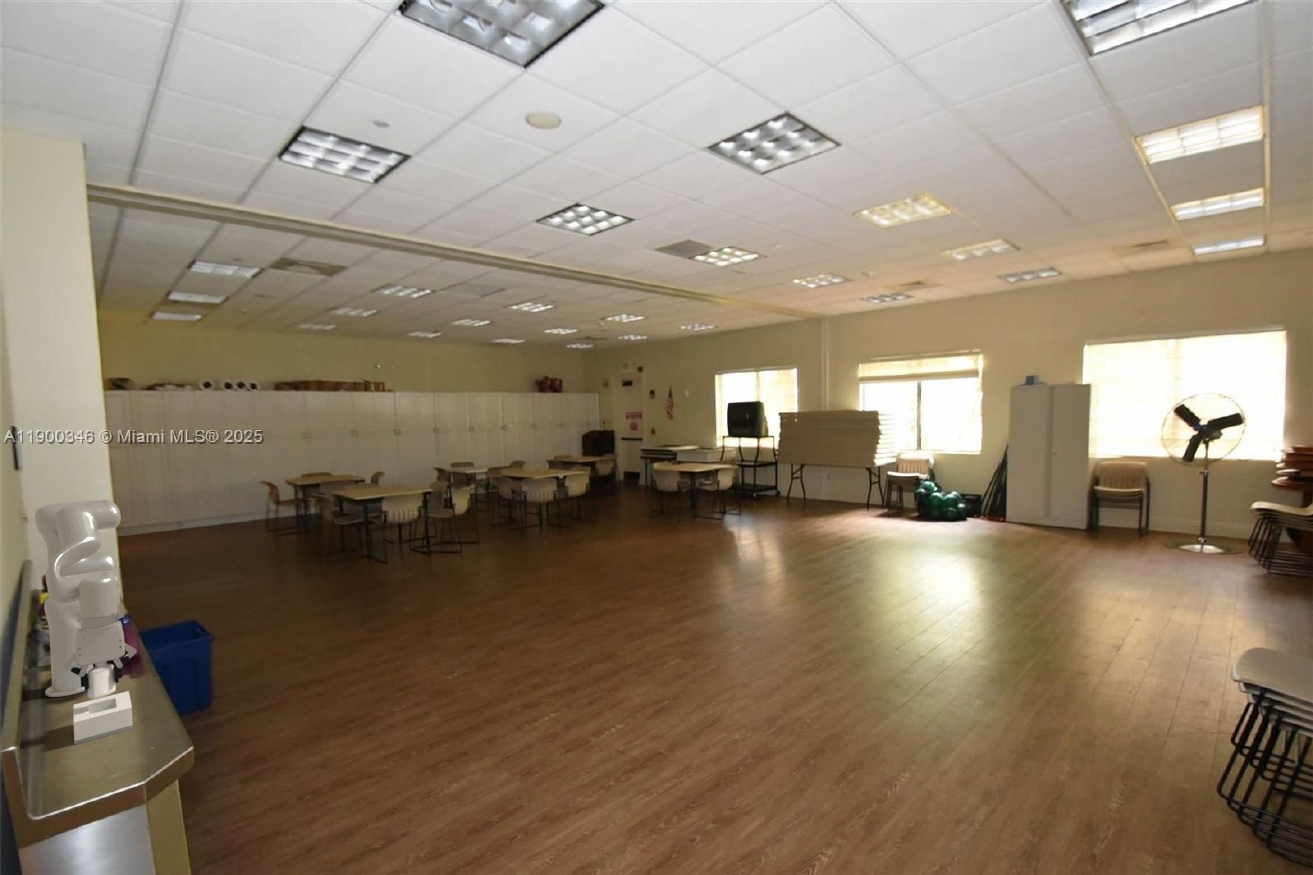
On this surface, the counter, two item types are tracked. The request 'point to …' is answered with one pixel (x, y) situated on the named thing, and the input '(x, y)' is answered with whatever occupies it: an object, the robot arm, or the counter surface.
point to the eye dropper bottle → (101, 680)
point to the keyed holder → (102, 717)
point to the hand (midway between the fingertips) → (101, 684)
